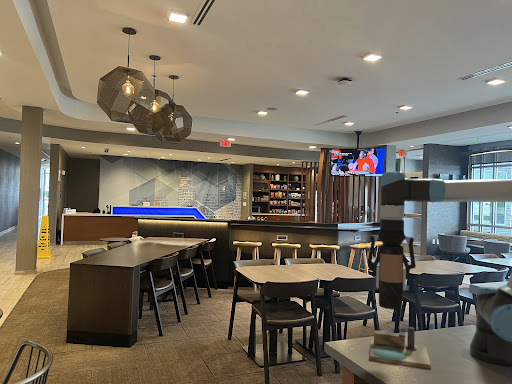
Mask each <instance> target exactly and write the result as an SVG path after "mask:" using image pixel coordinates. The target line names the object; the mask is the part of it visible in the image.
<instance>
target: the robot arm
mask: <svg viewBox="0 0 512 384" xmlns="http://www.w3.org/2000/svg"><path fill="white" fill-rule="evenodd" d="M380 183H381V184H380V214H379V215H380V216H379V217H380V218H381V219H380V220H379V233H378V234H374V235H373V234H372V235H370V247H369V252H368V259H367V265H369V266H371V267H372V276H373V277H374V278H376V280H375V281H376V283H375V288H377V289H379V260H380V250H379V251H378V253H377V256H376V257H375V260H374V261H373V258H374V257H373V256H374V253H375V251H374V250H375V245H376V242H377V241H378V239H379V240H380V242H381V243H382V244H381V246H385V247H401V246H402V243H403V242H404V241H406V243H407V244H408V252H409V259H410V264H409V263H408V260H407V258H406V255H405V252H404V251H403V266H404V268H403V291H406V280H410V274H411V273H410V270H413V269H416V268H417V266H416V259H415V252H414V242H415V241H414V240H415V239H414V237H412V236H406V234H405V221H404V219H405V202H417V203H441V202H442V203H449V202H450V203H455V202H456V203H457V202H458V203H464V202H465V203H466V202H468V203H476V202H477V203H483V202H484V203H492V202H493V203H512V179H511V178H509V179H507V178H506V179H503V178H502V179H461V180H460V179H458V180H457V179H456V180H454V179H453V180H452V179H451V180H444V179H442V178H434V177H433V178H407V176H406V173H405V172H402V171H386V172H383V173H382V174H381V180H380ZM475 297H476V312H475V314H476V316H475V317H476V319H475V320H476V321H475V322H476V323H475V325H476V326H475V327H476V328H475V332H474V334H473V338H472V339H471V343H470V344H469V353H470V354H471V356H473V357H474V358H476V359H479V360H482V361H484V362H487V363H492V364H496V365H499V366H500V365H501V366H512V273H511V274H510V276H509V278H508V280H507V283H506V284H505V285H502V286H501V285H500V286H498V287H493V286H479V287H478V288H477V289H476V294H475Z"/></svg>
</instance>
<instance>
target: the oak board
mask: <svg viewBox="0 0 512 384" xmlns="http://www.w3.org/2000/svg"><path fill="white" fill-rule="evenodd" d="M415 328H416V327H413V326H408V327H407V344H406V343H405V348H403V347H397V346H390V345H383V344H376V343H374V339H371V340H370V341H371V342H370V352H369V360H370V361H375V362H381V361H382V363H388V362H389V364H394V363H396V364H397V365H402V366H403V365H404V366H409V367H415V368H422V369H423V368H424V369H429V370H430V369H431V367H432V364H431V361H430V357H429V355H428V350H427V347H426V346H420V345H416V344H415V342H416V341H415V337H416V336H415V333H416V332H415V331H416V329H415ZM376 347H391V348H396V349H399V350H402V351H403V352H405V353H406V354H407V358H405V359H403V360H387V359H383V358H381V357H378V356H376V355H375V354H373V353H372V349H374V348H376Z"/></svg>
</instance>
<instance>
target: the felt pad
mask: <svg viewBox="0 0 512 384" xmlns="http://www.w3.org/2000/svg"><path fill="white" fill-rule="evenodd" d="M372 353H373V354H375V355H376V356H378V357H381V358H383V359H387V360H403V359H405V358H407V354H406V353H405V352H403V351H402V350H399V349H396V348H391V347H376V348H374V349H372Z"/></svg>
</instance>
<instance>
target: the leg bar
mask: <svg viewBox="0 0 512 384" xmlns="http://www.w3.org/2000/svg"><path fill="white" fill-rule="evenodd" d="M373 340H374V343H376V344H383V345H390V346H397V347H403V348H405V344H406V332H402V331H399V333H398V332H397V333H396V332H388V331H381V330H374V333H373Z"/></svg>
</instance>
